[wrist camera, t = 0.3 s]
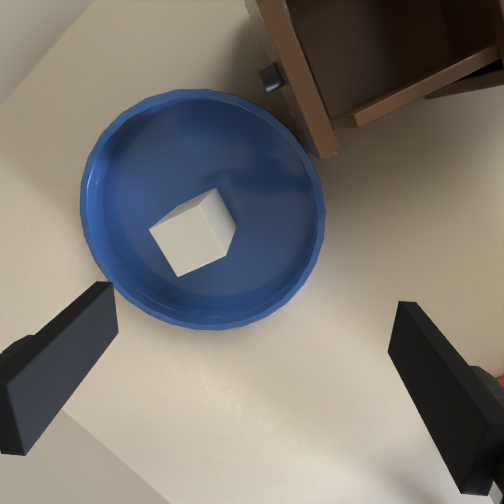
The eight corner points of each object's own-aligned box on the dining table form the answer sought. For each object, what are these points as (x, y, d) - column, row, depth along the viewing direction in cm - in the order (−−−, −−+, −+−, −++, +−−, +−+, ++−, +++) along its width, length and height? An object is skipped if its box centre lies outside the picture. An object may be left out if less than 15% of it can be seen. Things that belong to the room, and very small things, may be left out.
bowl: (56, 162, 30) (29, 166, 27) (259, 45, 26) (257, 32, 23) (171, 337, 36) (161, 359, 32) (352, 264, 32) (361, 279, 28)
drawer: (293, 158, 28) (302, 169, 19) (230, 13, 24) (209, -46, 16) (461, 74, 25) (555, 47, 17) (415, -101, 22) (503, -242, 13)
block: (177, 206, 30) (148, 229, 23) (216, 186, 29) (198, 204, 22) (198, 244, 31) (177, 277, 24) (236, 226, 30) (226, 255, 23)
